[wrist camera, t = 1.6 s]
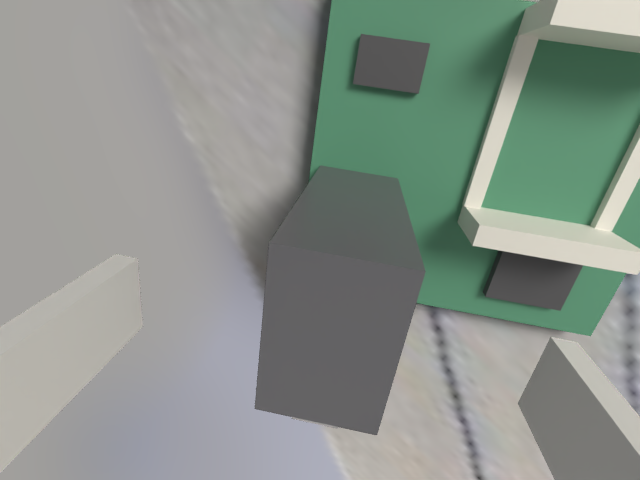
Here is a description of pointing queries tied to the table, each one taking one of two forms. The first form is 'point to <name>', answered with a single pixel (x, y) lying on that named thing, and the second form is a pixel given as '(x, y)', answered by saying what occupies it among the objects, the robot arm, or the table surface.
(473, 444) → the table surface
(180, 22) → the table surface
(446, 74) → the board
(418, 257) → the plug
